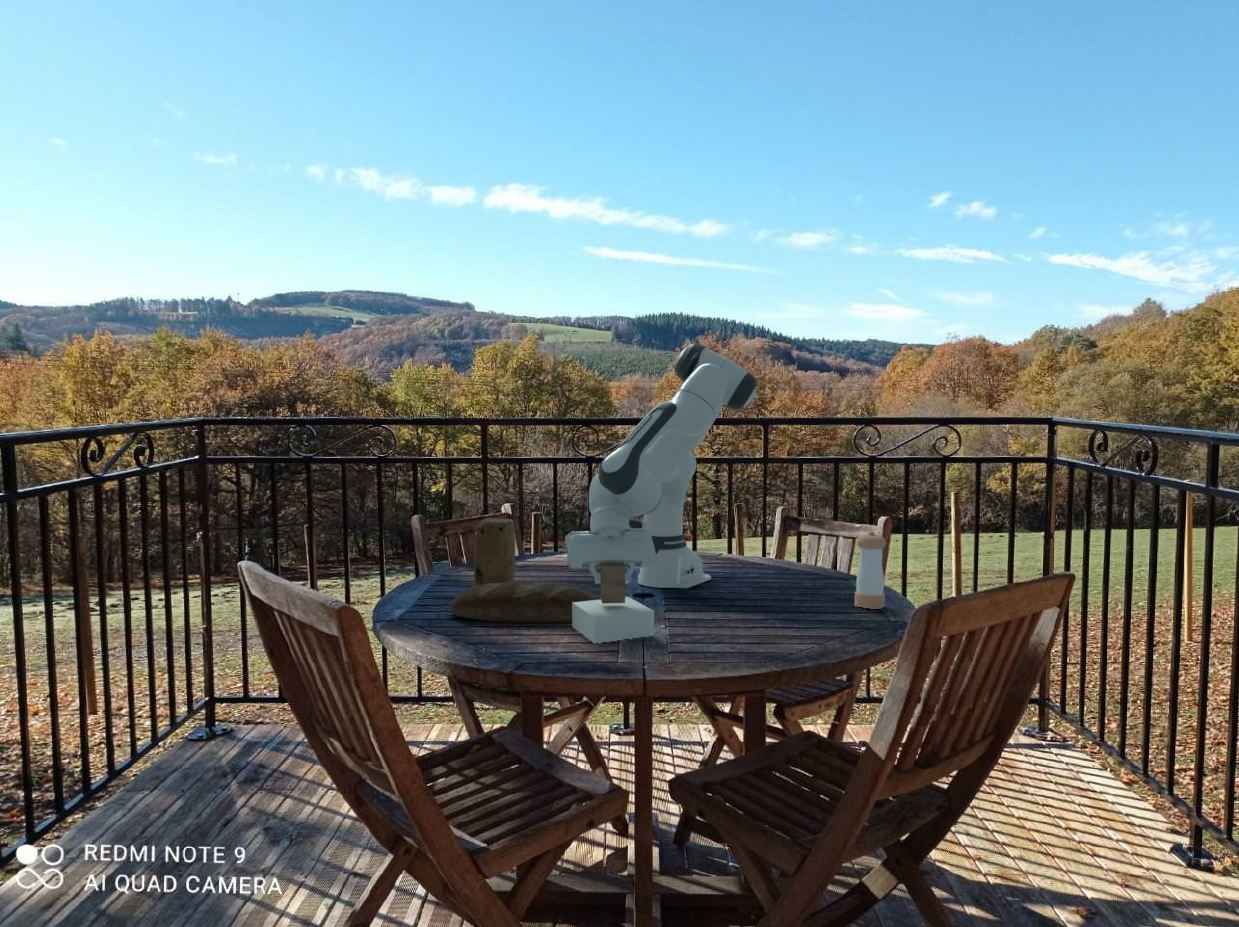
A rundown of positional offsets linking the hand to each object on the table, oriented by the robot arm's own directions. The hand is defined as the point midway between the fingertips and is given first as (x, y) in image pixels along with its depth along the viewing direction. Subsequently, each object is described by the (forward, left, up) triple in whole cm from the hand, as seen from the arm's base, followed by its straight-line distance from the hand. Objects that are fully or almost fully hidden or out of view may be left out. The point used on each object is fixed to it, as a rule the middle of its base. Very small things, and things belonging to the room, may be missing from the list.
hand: (613, 581), depth 175 cm
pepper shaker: (-63, +27, -12) cm, 70 cm away
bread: (+5, -25, -12) cm, 28 cm away
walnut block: (0, 0, -4) cm, 4 cm away
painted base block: (0, -1, -12) cm, 12 cm away
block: (-2, -50, -12) cm, 51 cm away
